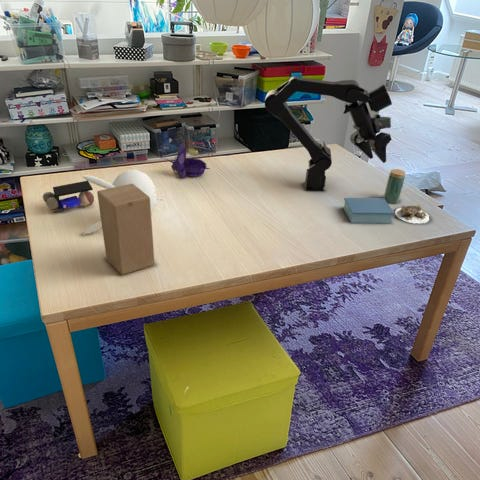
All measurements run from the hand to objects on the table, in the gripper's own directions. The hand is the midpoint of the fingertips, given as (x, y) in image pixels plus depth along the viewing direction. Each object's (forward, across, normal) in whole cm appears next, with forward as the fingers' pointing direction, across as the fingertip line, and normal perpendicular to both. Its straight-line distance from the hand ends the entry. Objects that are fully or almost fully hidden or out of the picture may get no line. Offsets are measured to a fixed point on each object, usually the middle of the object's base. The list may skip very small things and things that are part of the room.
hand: (378, 160), depth 174 cm
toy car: (-42, +6, +97) cm, 105 cm away
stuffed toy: (-31, -9, +85) cm, 91 cm away
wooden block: (-27, -30, +87) cm, 96 cm away
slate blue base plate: (+8, -14, +16) cm, 23 cm away
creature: (-25, +27, +58) cm, 69 cm away
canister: (+14, -4, +3) cm, 15 cm away
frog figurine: (+17, -17, +3) cm, 24 cm away
